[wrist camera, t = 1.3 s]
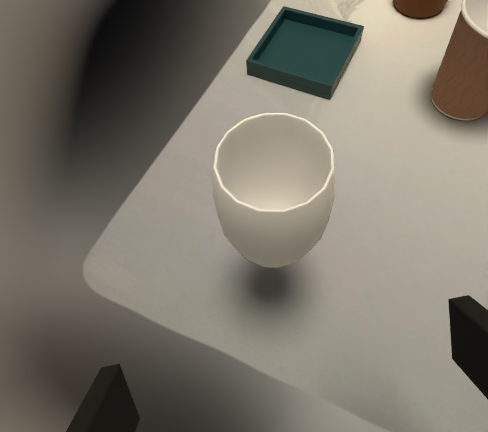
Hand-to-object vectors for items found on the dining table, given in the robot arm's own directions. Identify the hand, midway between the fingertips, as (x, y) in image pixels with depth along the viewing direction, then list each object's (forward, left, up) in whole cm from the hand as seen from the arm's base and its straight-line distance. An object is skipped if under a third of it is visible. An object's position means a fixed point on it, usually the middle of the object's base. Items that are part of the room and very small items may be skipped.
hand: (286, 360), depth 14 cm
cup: (+2, +9, -21) cm, 23 cm away
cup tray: (+14, +39, -21) cm, 46 cm away
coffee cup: (+30, +26, -21) cm, 45 cm away
